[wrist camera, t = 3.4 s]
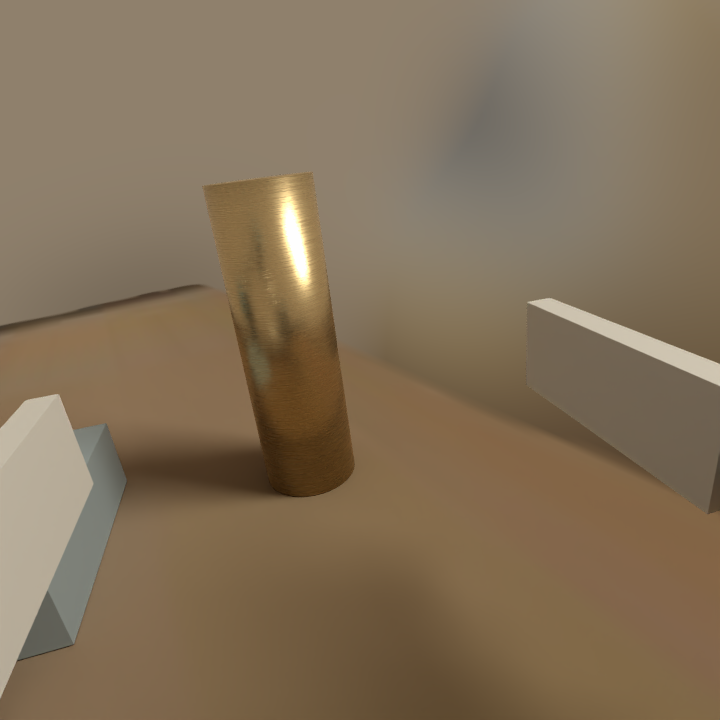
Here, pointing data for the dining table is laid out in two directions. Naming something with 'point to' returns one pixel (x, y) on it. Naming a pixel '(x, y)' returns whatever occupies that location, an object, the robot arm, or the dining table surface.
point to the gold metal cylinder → (284, 327)
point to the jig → (80, 547)
